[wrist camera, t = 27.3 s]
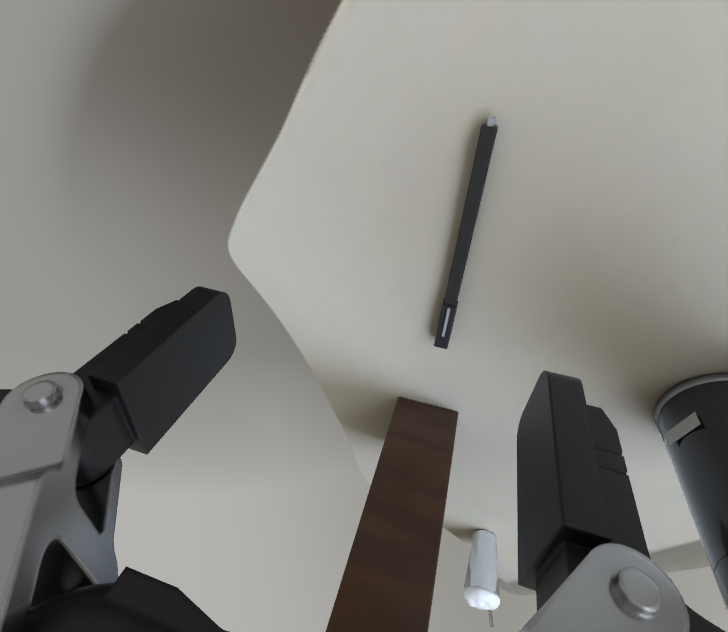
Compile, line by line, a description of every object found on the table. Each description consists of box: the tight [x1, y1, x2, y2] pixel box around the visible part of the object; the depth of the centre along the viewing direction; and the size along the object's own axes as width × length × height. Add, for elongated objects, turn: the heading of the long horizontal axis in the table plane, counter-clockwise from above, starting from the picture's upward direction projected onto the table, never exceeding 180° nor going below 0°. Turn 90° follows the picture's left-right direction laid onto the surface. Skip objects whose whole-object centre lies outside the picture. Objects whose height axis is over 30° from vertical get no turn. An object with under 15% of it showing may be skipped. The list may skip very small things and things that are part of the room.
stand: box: [326, 397, 458, 632], centre depth 37 cm, size 15×8×32 cm, turn 176°
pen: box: [434, 116, 498, 349], centre depth 34 cm, size 21×1×2 cm, turn 176°
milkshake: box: [463, 530, 500, 627], centre depth 54 cm, size 4×5×10 cm
